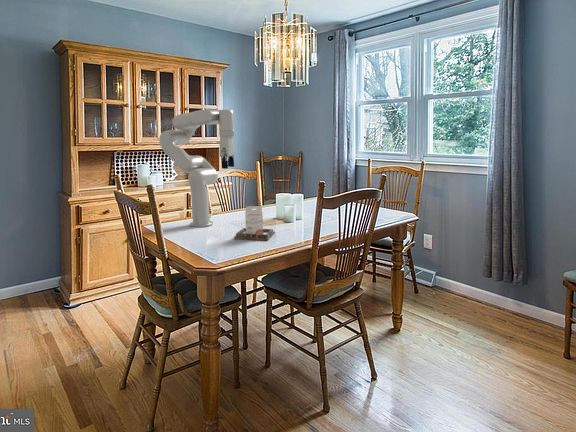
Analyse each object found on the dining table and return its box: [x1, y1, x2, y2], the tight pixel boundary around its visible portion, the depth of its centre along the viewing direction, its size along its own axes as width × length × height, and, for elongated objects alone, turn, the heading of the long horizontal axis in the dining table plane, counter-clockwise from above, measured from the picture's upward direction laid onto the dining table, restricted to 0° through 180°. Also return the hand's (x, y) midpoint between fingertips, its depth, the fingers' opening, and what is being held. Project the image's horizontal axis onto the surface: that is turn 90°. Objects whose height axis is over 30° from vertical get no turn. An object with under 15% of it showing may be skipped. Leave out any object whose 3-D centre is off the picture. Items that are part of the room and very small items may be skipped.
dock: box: [233, 227, 276, 242], centre depth 215 cm, size 15×17×3 cm
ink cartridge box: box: [244, 205, 264, 234], centre depth 214 cm, size 9×5×15 cm, turn 97°
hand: (228, 167), depth 223 cm, fingers open, 9 cm apart
